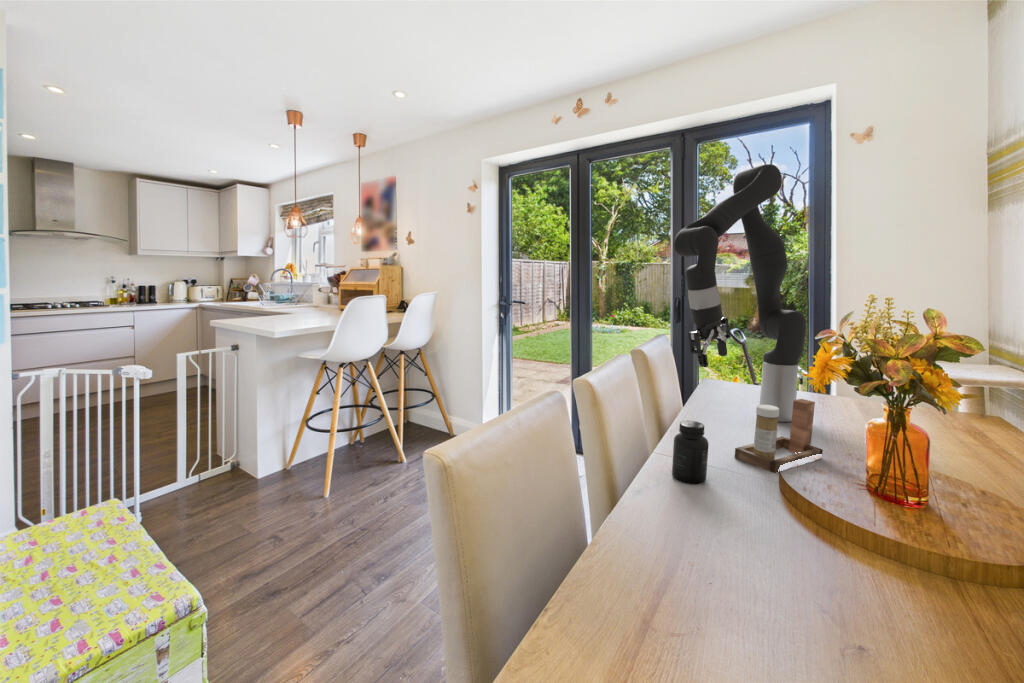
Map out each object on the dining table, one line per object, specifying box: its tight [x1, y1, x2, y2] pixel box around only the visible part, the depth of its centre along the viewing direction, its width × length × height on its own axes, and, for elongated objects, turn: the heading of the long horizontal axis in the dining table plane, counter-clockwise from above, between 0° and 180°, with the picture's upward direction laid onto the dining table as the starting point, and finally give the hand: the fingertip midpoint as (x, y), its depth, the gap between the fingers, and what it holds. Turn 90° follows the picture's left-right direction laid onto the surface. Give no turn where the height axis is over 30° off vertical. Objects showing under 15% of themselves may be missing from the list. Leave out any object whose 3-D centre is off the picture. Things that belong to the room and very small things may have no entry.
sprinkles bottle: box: [753, 404, 779, 460], centre depth 103 cm, size 5×5×13 cm
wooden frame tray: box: [734, 398, 824, 474], centre depth 106 cm, size 19×10×13 cm, turn 117°
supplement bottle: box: [671, 420, 709, 486], centre depth 95 cm, size 7×7×12 cm
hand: (713, 361), depth 121 cm, fingers open, 8 cm apart
